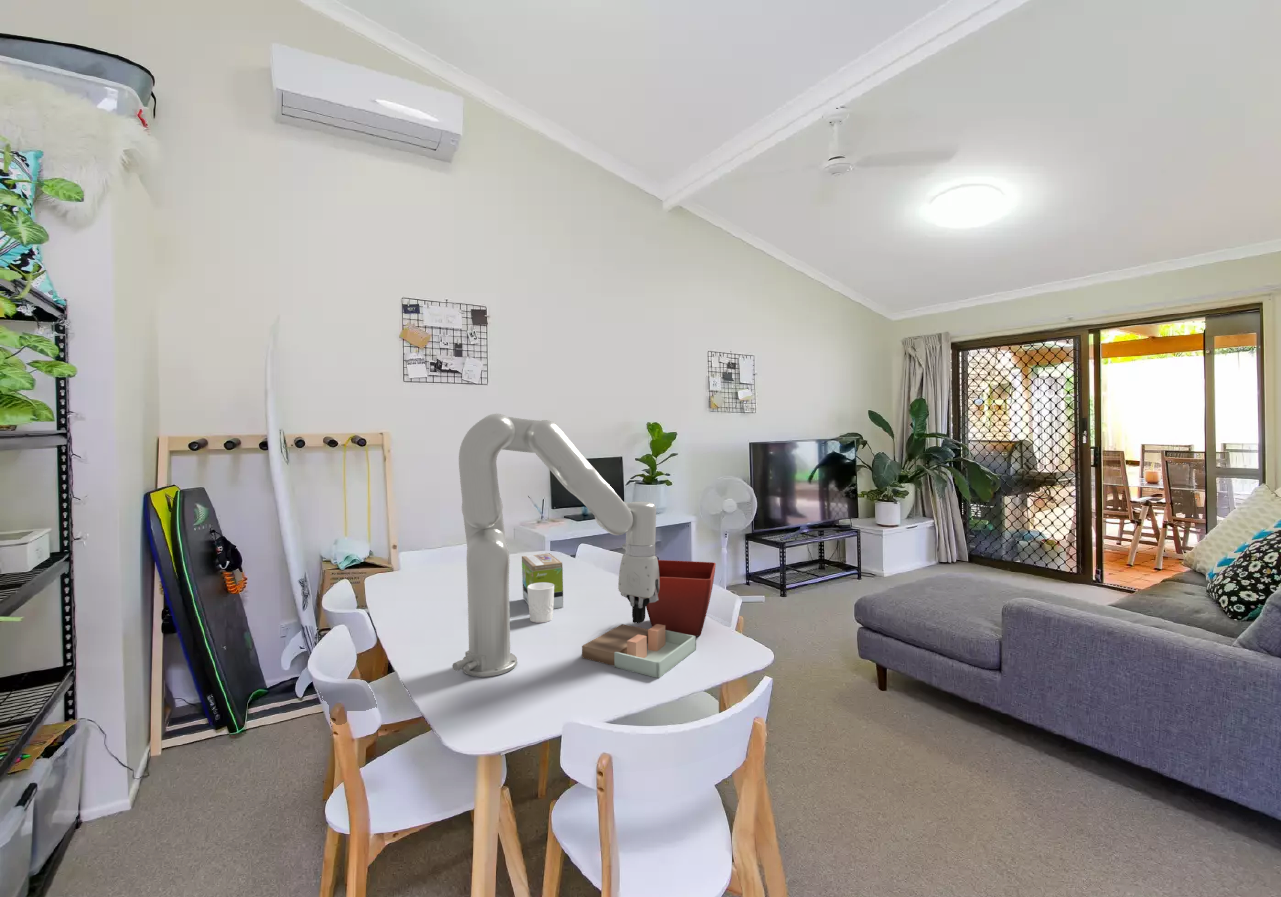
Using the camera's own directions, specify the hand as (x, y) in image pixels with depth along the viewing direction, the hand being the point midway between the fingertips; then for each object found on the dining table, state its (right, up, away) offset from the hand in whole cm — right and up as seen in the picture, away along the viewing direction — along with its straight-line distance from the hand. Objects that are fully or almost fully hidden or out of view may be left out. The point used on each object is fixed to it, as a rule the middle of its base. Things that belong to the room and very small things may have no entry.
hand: (638, 621), depth 146 cm
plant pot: (+12, -7, +15) cm, 20 cm away
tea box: (-31, -6, +39) cm, 50 cm away
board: (-5, -7, -1) cm, 8 cm away
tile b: (+4, -4, 0) cm, 5 cm away
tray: (+4, -7, -6) cm, 11 cm away
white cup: (-29, -7, +23) cm, 38 cm away
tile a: (-1, -4, -8) cm, 9 cm away
